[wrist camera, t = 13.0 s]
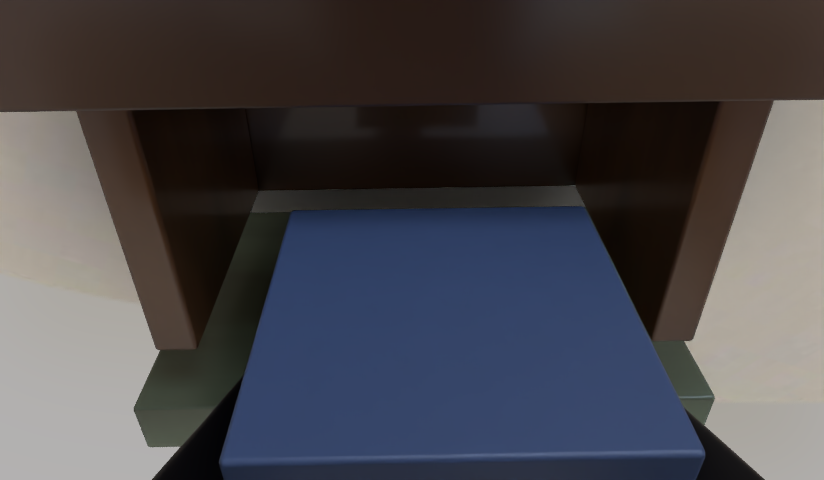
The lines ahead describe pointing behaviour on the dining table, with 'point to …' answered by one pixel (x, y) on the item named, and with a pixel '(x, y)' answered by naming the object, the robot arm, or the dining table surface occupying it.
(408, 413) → the block
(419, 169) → the drawer
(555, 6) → the cabinet
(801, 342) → the dining table surface
